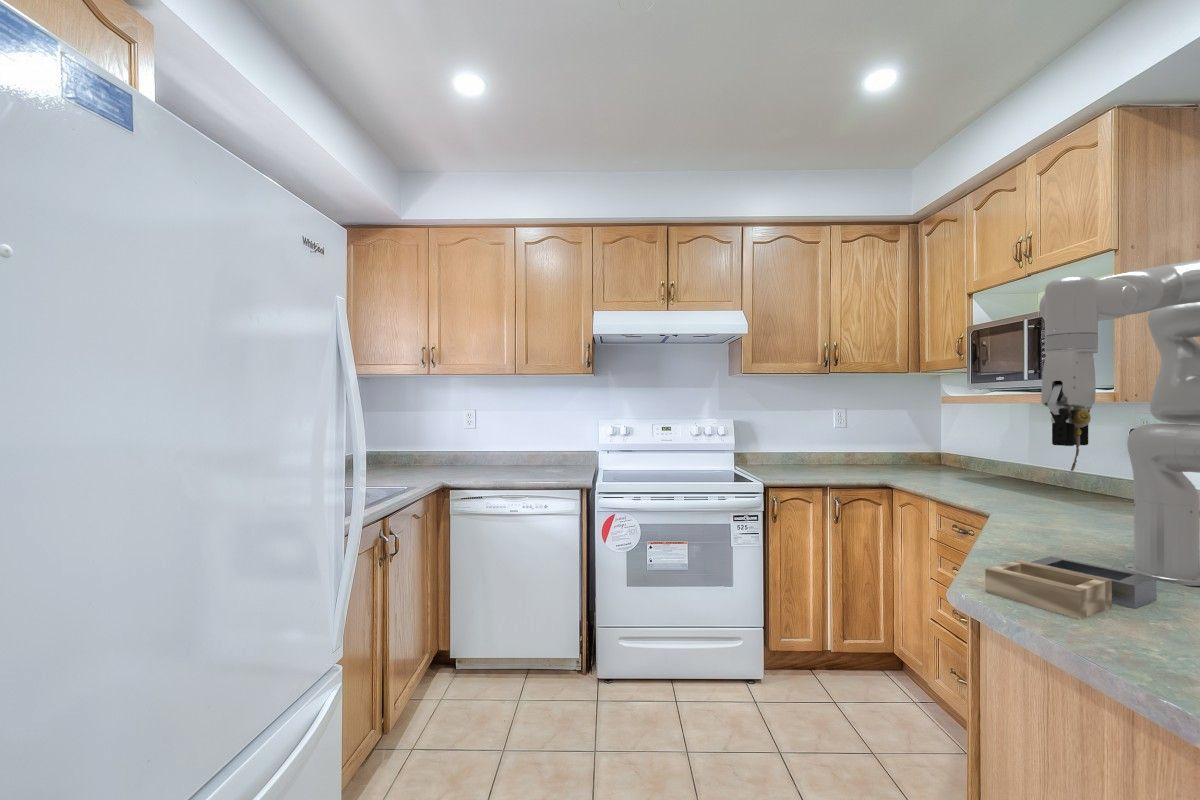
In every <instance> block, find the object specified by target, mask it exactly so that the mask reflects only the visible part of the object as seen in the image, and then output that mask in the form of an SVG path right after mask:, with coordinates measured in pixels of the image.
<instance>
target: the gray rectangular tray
mask: <svg viewBox="0 0 1200 800" xmlns="http://www.w3.org/2000/svg"><path fill="white" fill-rule="evenodd" d="M1030 562H1031V563H1036V564H1040V565H1045V566H1050V567H1055V568H1059V569H1064V570H1069V571H1073V572H1078V573H1083V574H1087V575H1092V576H1097V577H1101V578H1106V579H1111V584H1112V604H1114V605H1118V606H1121V607H1126V608H1129V609H1134V610H1136V609H1138V608H1141V607H1143V606H1145V605H1148V604H1149V603H1152V602H1154V601H1156V600H1157V580H1156V577H1152V576H1147V575H1142V574H1137V573H1132V572H1127V571H1125V570H1123V569H1122V570H1121V569H1117V568H1112V567H1107V566H1101V565H1098V564H1097V565H1095V564H1092V563H1091V564H1090V563H1086V562H1082V561H1075V560H1071V559H1065V558H1061V557H1057V556H1051V555H1050V556H1047V557H1042V558H1039V559H1036V560H1033V561H1030Z"/></svg>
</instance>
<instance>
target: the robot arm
mask: <svg viewBox="0 0 1200 800" xmlns="http://www.w3.org/2000/svg"><path fill="white" fill-rule="evenodd" d="M1038 310H1039V313H1040V317H1042V319H1043V320H1044V355H1045V356H1044V361H1043V362H1044V363H1043V369H1042V378H1041V379H1042V381H1041V393H1040V394H1041V396H1040V397H1041V398H1040V402H1041V405H1043V406H1044V407H1047V408H1048V409H1049V413H1050V414H1051V419H1050V421H1051V443H1052V445H1053V446H1061V447H1062V446H1064V447H1074V446H1076V440H1075V424H1071V423H1072V419H1073V411H1074V407H1083V408H1085V409H1086V410H1087V411H1088V412H1089V413H1090V411H1091V410H1092V407H1093V405H1094V404H1095V402H1096V394H1097V393H1096V369H1095V358H1094V354H1098V352H1099V348H1098V347H1099V346H1098V345H1099V336H1098V335H1099V322H1104V321H1111V320H1115V319H1116V320H1117V319H1121V318H1124V317H1126V316H1130V315H1137V314H1143V313H1147V312H1148V314H1147V325H1148V331H1149V332H1150V334H1151V337H1152V339H1153V342H1154V343H1155V346H1156V348H1157V350H1158V352H1159V356H1160V359H1161V361H1160V362H1161V363H1160V366H1159V367H1160V368H1159V371H1158V373H1157V374H1158V375H1157V379H1156V382H1155V384H1154V388H1153V391H1152V394H1151V399H1150V402H1149V403H1150V404H1149V412H1150V413H1151V416H1152V417H1153V418H1155V419H1156V420H1157V421H1160V422H1163V423H1149V424H1144V425H1143V424H1142V425H1139V426H1137V427H1135V428H1134V429H1133V430H1132V431H1130V432H1129V434H1128V436H1127V442H1126V444H1127V445H1126V446H1127V451H1128V455H1129V459H1130V463H1131V468H1132V475H1133V477H1132V478H1133V510H1134V511H1133V514H1134V515H1133V517H1134V518H1133V523H1134V524H1133V525H1134V527H1133V528H1134V533H1133V534H1134V535H1133V536H1134V539H1133V540H1134V546H1133V547H1134V562H1132V563H1125V564H1124V571H1127V572H1132V573H1137V574H1142V575H1147V576H1152V577H1156V581H1160V582H1165V583H1170V584H1175V585H1180V586H1188V587H1189V586H1190V587H1200V495H1199V492H1198V490H1197V488H1196V486H1195V485H1194V484H1193V482H1192V481H1191V480H1190V479H1189V478H1188V477H1187V476H1186V475H1185V473H1198V474H1200V343H1199V342H1198V341H1196V339H1195V338H1200V259H1195V260H1189V261H1183V262H1177V263H1171V264H1164V265H1159V266H1158V265H1157V266H1154V267H1149V268H1148V267H1147V268H1143V269H1142V268H1141V269H1138V270H1131V271H1127V272H1123V273H1118V274H1114V275H1110V276H1105V277H1102V278H1099V279H1098V278H1097V279H1095V278H1093V277H1092V276H1080V275H1079V276H1068V277H1067V276H1066V277H1060V278H1057V279H1054V280H1051V281H1049V282H1048V283H1047V285H1046V287H1045V288H1044V294H1043V296H1042V297H1041V299H1040V302H1039V309H1038ZM1067 405H1069V406H1067ZM1065 410H1067V414H1066V412H1065ZM1080 429H1081V431H1082V434H1081V435H1080V446H1088V445H1089V424H1088V425H1086V426H1084V427H1082V428H1080Z"/></svg>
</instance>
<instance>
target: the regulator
mask: <svg viewBox="0 0 1200 800" xmlns="http://www.w3.org/2000/svg"><path fill="white" fill-rule="evenodd" d="M1067 406H1069V405H1067ZM1065 412H1066V414H1067V410H1065ZM1091 418H1092V417H1091V414H1090V412H1088V411H1087V410H1086V409H1085V408H1083V407H1074V411H1073V419H1072V423H1071V424H1075V440H1076V445H1075V448H1076V449H1075V456H1074V460H1073V463H1072V466H1071V468H1070V472H1073V471H1075V468H1076V463H1077V461H1078V460H1077V458H1078V457H1079V453H1080V448H1079V447H1080V446H1081V445H1080V435H1081V434H1082V431H1081V429H1080V428H1082V427H1084V426H1086V425H1088V426H1089V424H1090V422H1091Z"/></svg>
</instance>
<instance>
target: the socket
mask: <svg viewBox="0 0 1200 800" xmlns="http://www.w3.org/2000/svg"><path fill="white" fill-rule="evenodd" d="M1031 562H1032V561H1026V560H1021V559H1017V560H1014V561H1009V562H1006V563H1002V564H1000V565H998V564H997V565H995V566H991V567H988V568H985V569H984V572H985V573H984V574H985V576H984V577H985V581H984V582H985V589H984V590H985V593H988V594H992V595H996V596H997V597H1002V598H1005V599H1009V600H1011V599H1012V601H1015V602H1019V603H1021V604H1026V605H1029V606H1033V607H1035V606H1036V608H1039V609H1042V610H1045V609H1046V610H1047V611H1049V610H1050V612H1052V611H1053V613H1056V612H1057V613H1056V614H1059V613H1061V615H1062V614H1064V615H1063V616H1066V615H1068V616H1067V617H1069V616H1070V617H1069V618H1073V617H1074V618H1073V619H1077V620H1082V619H1085V618H1088V617H1091V616H1093V615H1096V614H1099V613H1102V612H1104V611H1108V610H1110V609H1112V604H1113V603H1112V584H1111V579H1106V578H1101V577H1097V576H1092V575H1087V574H1083V573H1078V572H1073V571H1069V570H1064V569H1059V568H1055V567H1050V566H1045V565H1040V564H1036V563H1031Z"/></svg>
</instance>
